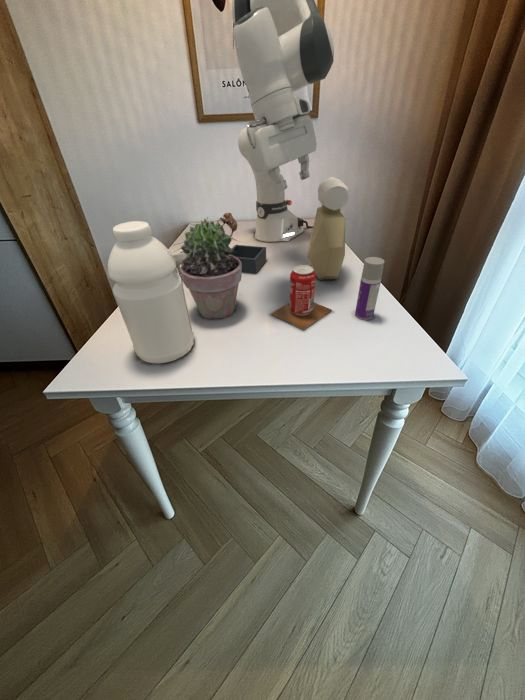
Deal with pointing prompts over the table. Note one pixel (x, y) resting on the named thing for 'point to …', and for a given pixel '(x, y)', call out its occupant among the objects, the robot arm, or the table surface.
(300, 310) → the beverage can
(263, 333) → the table surface
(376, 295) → the container
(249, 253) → the bin
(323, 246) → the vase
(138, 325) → the bottle
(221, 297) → the potted plant
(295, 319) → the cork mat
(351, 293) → the table surface
